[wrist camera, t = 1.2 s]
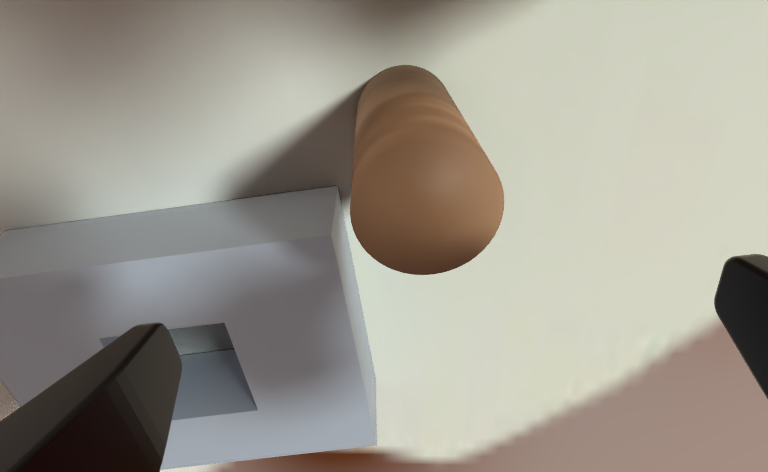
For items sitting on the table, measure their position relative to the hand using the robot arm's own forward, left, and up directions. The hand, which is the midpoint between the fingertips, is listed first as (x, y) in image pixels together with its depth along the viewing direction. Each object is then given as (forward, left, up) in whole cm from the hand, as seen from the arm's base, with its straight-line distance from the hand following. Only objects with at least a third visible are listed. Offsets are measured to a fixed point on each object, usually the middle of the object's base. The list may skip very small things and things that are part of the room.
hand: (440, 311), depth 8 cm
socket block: (+10, +8, -12) cm, 17 cm away
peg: (0, 0, -12) cm, 12 cm away
